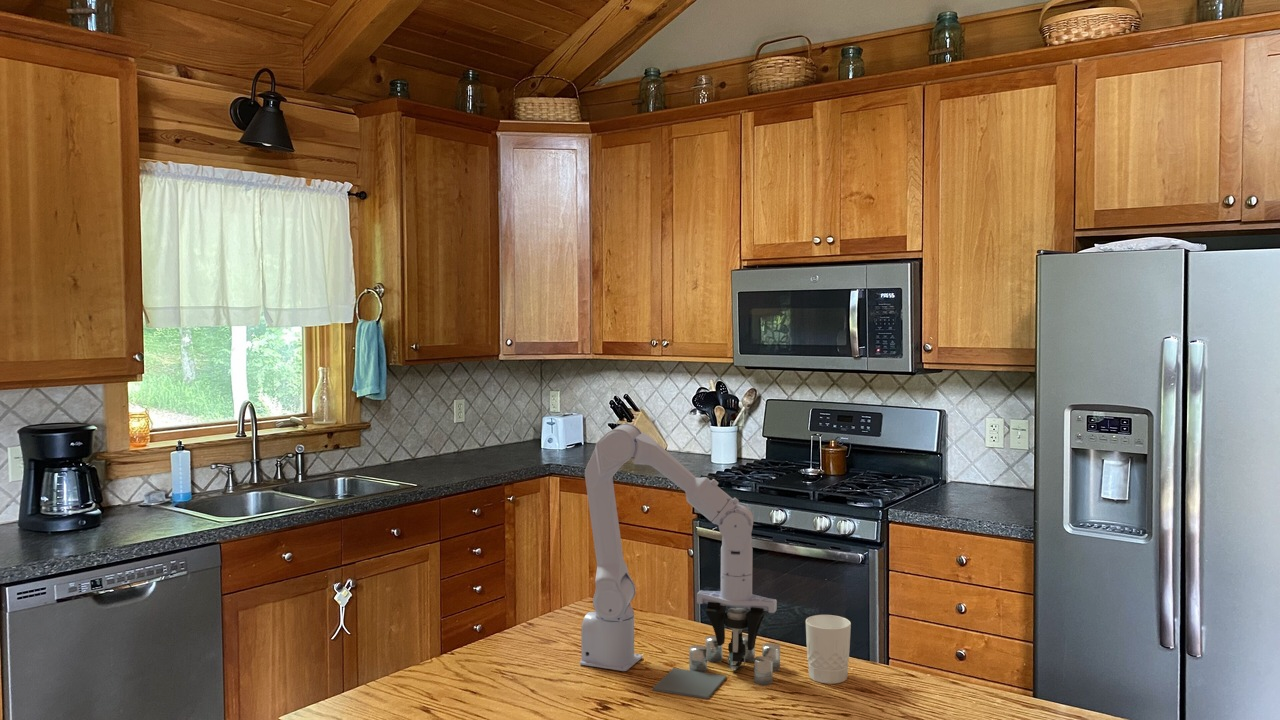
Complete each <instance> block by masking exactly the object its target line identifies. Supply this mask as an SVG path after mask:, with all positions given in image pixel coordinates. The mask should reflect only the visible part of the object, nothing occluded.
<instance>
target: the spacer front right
mask: <svg viewBox="0 0 1280 720" xmlns="http://www.w3.org/2000/svg"><path fill="white" fill-rule="evenodd" d="M753 671H754V672H753V677H754V678H753V682H754V683H755V684H756V685H759V686H769V685H772V684H773V675H774V674H773V672H774V671H773V659H772V658H770V657H766V656H762V655H760V656H755V658H754V661H753Z"/></svg>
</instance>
